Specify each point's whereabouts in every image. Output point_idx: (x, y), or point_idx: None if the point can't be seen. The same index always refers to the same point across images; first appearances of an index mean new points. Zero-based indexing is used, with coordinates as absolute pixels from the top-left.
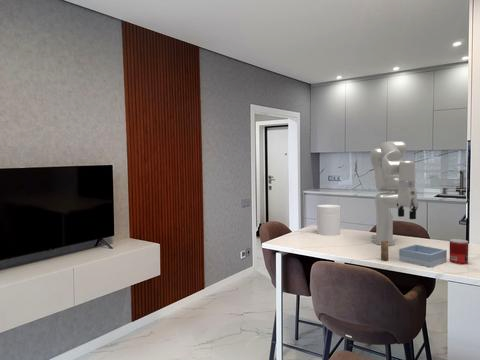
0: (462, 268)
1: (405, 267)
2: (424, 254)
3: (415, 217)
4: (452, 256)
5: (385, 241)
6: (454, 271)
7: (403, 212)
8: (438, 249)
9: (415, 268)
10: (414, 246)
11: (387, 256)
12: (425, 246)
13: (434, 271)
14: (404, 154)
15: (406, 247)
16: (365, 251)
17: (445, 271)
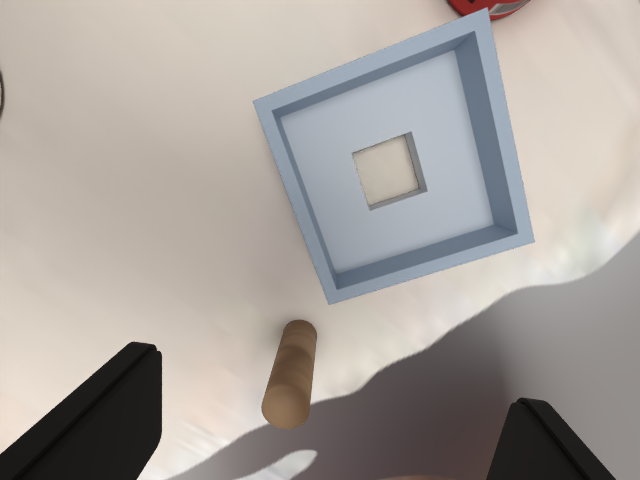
0: (590, 70)
1: (439, 330)
2: (494, 253)
3: (561, 429)
4: (506, 5)
5: (299, 413)
6: (601, 163)
7: (104, 426)
8: (434, 46)
9: (471, 301)
10: (283, 139)
11: (315, 344)
12: (332, 77)
13: (549, 256)
14: None
15: (311, 234)
16: (121, 316)
17: (577, 206)
